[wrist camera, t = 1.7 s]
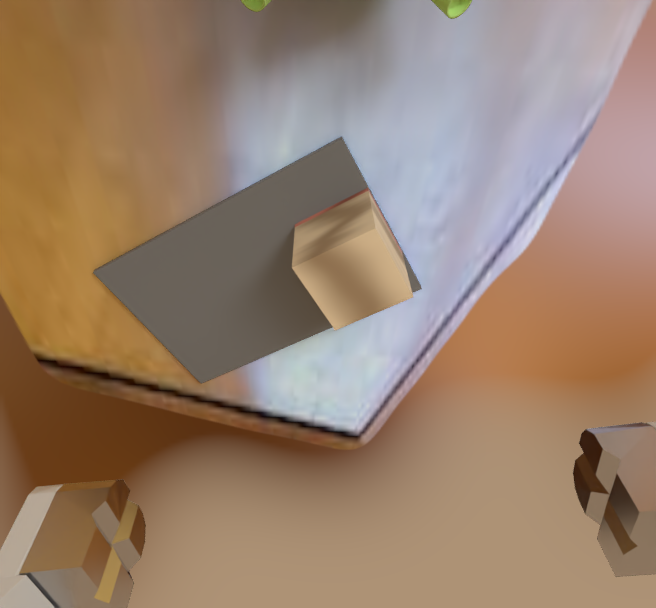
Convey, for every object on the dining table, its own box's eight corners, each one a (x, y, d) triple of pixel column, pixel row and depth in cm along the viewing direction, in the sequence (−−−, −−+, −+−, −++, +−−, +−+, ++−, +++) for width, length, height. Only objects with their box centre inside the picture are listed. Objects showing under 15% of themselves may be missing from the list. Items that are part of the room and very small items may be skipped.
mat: (341, 136, 35) (341, 138, 35) (420, 285, 43) (421, 288, 42) (94, 269, 41) (93, 272, 41) (201, 380, 49) (200, 383, 48)
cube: (367, 187, 37) (375, 228, 32) (402, 251, 40) (413, 296, 35) (295, 224, 39) (291, 267, 34) (333, 282, 42) (335, 330, 37)
